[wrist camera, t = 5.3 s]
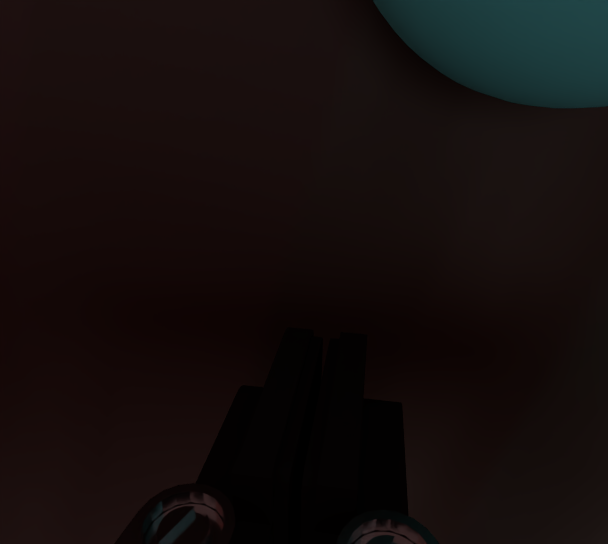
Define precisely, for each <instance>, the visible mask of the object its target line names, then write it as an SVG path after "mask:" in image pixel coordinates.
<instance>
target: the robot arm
mask: <svg viewBox="0 0 608 544" xmlns="http://www.w3.org/2000/svg"><path fill="white" fill-rule="evenodd" d="M366 345H367V335H364V334H353V333H343V332H341V335H340V339H333V338H330V342H329V347H328V352H327V356H326V361H325V366H324V371H323V376H322V381H321V374H322V347H323V339H322V337H314V334H313V330H310V329H299V328H286V330H285V333H284V336H283V338H282V341H281V343H280V346H279V349H278V351H277V354H276V357H275V359H274V362H273V364H272V367H271V370H270V372H269V375H268V378H267V380H266V383H265V385H264V388H263V387H254V386H245V385H243V386H241V387H240V389H239V390H238V392H237V394H236V396H235V399H234V401H233V403H232V405H231V407H230V409H229V412H228V414H227V416H226V418H225V420H224V423H223V425H222V427H221V429H220V431H219V433H218V436H217V438H216V440H215V442H214V444H213V447H212V449H211V451H210V453H209V455H208V457H207V460H206V462H205V464H204V466H203V468H202V471H201V473H200V475H199V477H198V479H197V481H196V483H191V484H183V485H177V486H175V487H172V488H169V489H166V490H164V491H162V492H160V493H159V494H157V495H156V496H154V497H153V498H151V499H150V500H149V501H148V502H147V503H146V504H145V505H144V506H143V507H142V508H141V509H140V510H139V511H138V513H137V514H136V515H135V517H134V518H133V519H132V521H131V522H130V523H129V525H128V526H127V527H126V529H125V530H124V531H123V533H122V534H121V535H120V537H119V538H118V539H117V541H116V542H115V543H114V544H439V543H438V541H437V540H436V539H435V537H434V536H433V535H432V534H431V533H430V531H429V530H428V529H427V528H426V527H424V526H423V525H422V524H420V523H419V522H418V521H416V520H415V519H414V518H411V517H409V516H408V501H407V483H406V465H405V447H404V429H403V411H402V404H401V403H399V402H390V401H381V400H372V399H363V393H364V377H365V361H366Z"/></svg>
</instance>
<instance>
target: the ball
mask: <svg viewBox="0 0 608 544" xmlns="http://www.w3.org/2000/svg"><path fill="white" fill-rule="evenodd" d="M373 2H374V3H375V5H376V6H377V8H378V10H379V11H380V12H381V14H382V15H383V17H384V18H385V19H386V21H387V22H388V23H389V25H390V26H391V27H392V29H393V30H394V31H395V32H396V33H397V35H398V36H399V37H400V38H401V39H402V40H403V41H404V42H405V43H406V45H408V46H409V47H410V48H411V49H412V50H413V51H414V52H415V53H416V54H417V55H418V56H420V57H421V58H422V59H423V60H425V61H426V62H427V63H429V64H430V65H431V66H433V67H434V68H435V69H437V70H438V71H439V72H440V73H442V74H444V75H445V76H447V77H449V78H450V79H452V80H454V81H455V82H457V83H459V84H461V85H463V86H465V87H468V88H470V89H472V90H474V91H477V92H480V93H483V94H486V95H489V96H493V97H496V98H499V99H502V100H505V101H508V102H512V103H518V104H524V105H530V106H539V107H549V108H587V107H605V106H608V0H373Z"/></svg>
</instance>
